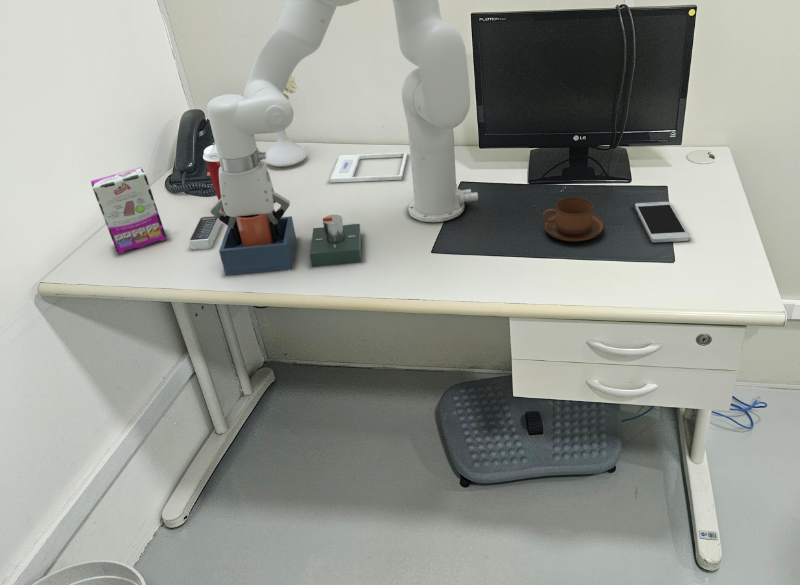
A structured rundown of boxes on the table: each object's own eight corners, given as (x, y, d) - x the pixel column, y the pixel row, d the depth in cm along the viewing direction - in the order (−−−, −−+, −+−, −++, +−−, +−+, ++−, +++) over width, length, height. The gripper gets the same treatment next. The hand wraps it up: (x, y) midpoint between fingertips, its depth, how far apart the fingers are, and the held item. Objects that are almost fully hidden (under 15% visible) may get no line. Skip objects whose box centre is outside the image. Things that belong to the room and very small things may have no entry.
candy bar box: (163, 231, 163) (142, 165, 154) (167, 240, 160) (146, 173, 150) (113, 246, 160) (89, 179, 150) (117, 255, 156) (92, 187, 147)
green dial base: (361, 235, 153) (359, 222, 151) (360, 262, 144) (359, 248, 142) (315, 240, 153) (313, 227, 152) (312, 266, 144) (309, 253, 142)
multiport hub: (191, 249, 155) (188, 240, 154) (203, 225, 164) (200, 216, 163) (210, 248, 155) (208, 239, 153) (221, 224, 164) (219, 215, 162)
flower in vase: (289, 173, 184) (270, 78, 170) (257, 166, 190) (236, 73, 176) (320, 154, 193) (305, 62, 179) (288, 148, 199) (271, 58, 185)
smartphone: (651, 242, 140) (652, 238, 139) (634, 206, 152) (634, 202, 152) (689, 240, 139) (690, 236, 138) (668, 204, 152) (668, 200, 151)
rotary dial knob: (345, 232, 149) (342, 212, 146) (344, 241, 145) (341, 221, 143) (326, 234, 149) (322, 214, 146) (325, 243, 145) (321, 223, 143)
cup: (277, 239, 151) (269, 201, 146) (274, 255, 145) (265, 216, 140) (246, 242, 151) (237, 204, 146) (241, 258, 146) (231, 220, 141)
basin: (296, 239, 154) (291, 216, 151) (291, 268, 144) (286, 244, 141) (234, 245, 155) (228, 222, 151) (225, 275, 145) (218, 251, 141)
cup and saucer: (554, 251, 141) (555, 223, 137) (535, 223, 151) (536, 197, 147) (612, 241, 142) (615, 214, 138) (590, 214, 152) (591, 188, 148)
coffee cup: (243, 215, 167) (229, 155, 158) (211, 214, 168) (195, 155, 160) (256, 199, 173) (243, 141, 165) (225, 198, 175) (210, 141, 167)
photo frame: (339, 154, 188) (407, 151, 186) (340, 158, 189) (407, 155, 187) (329, 178, 176) (401, 175, 174) (330, 182, 177) (401, 179, 175)
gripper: (286, 148, 140) (300, 227, 150) (199, 157, 141) (219, 235, 150) (282, 163, 134) (298, 245, 144) (191, 172, 134) (213, 253, 144)
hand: (257, 239), depth 147 cm, fingers closed on cup, 6 cm apart
